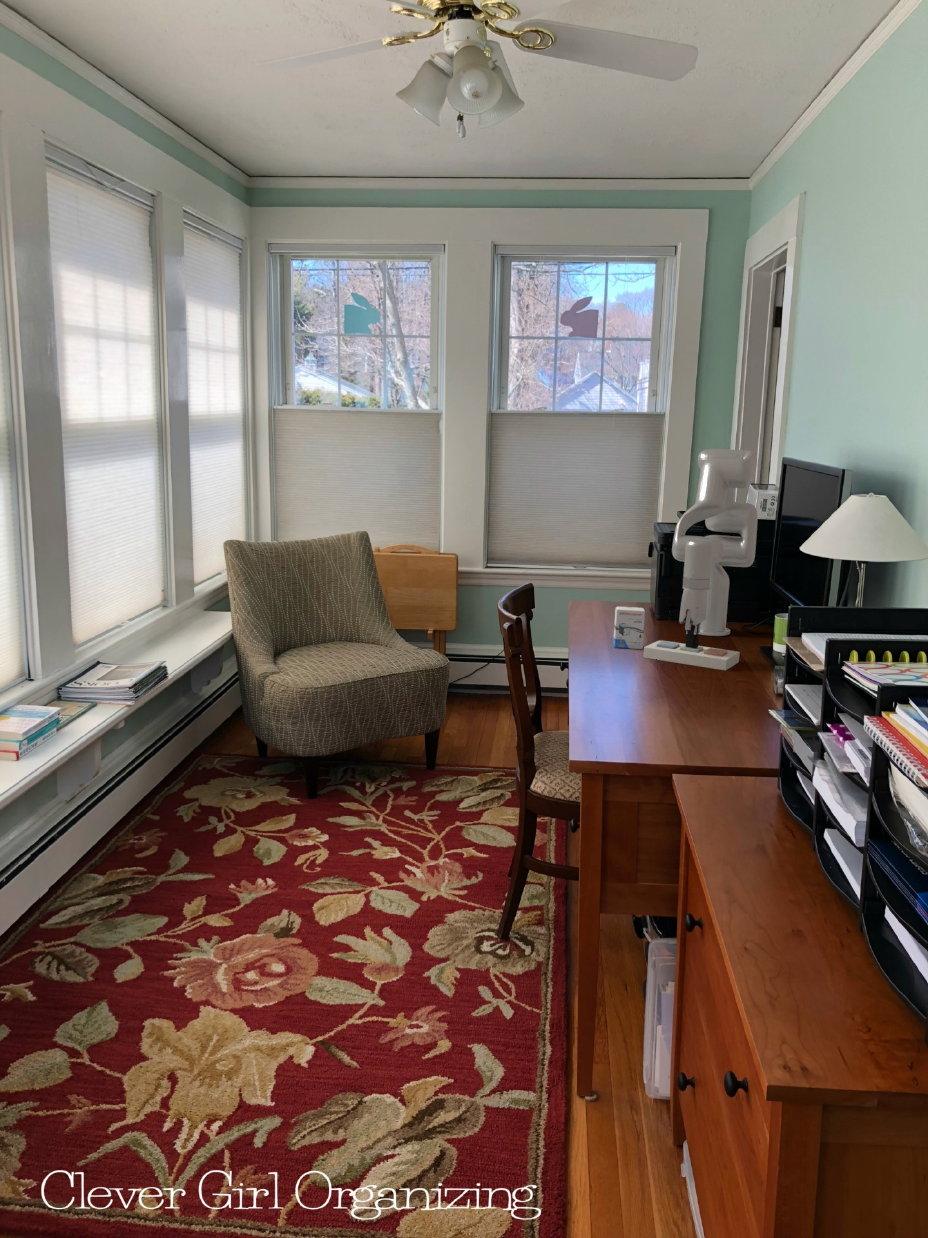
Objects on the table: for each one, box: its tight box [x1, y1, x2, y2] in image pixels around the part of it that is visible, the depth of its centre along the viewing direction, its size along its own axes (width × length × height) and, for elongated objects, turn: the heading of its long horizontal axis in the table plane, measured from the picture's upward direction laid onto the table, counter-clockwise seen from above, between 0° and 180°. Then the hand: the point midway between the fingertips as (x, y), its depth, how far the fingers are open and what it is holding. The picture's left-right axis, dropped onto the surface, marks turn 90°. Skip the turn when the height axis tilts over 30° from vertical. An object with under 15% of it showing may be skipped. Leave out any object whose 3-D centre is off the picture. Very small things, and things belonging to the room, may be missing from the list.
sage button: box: [680, 645, 704, 653], centre depth 276 cm, size 5×5×3 cm
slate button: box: [657, 640, 680, 649], centre depth 280 cm, size 5×5×3 cm
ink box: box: [612, 606, 646, 650], centre depth 290 cm, size 9×5×12 cm, turn 84°
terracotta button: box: [704, 647, 727, 657], centre depth 273 cm, size 5×5×3 cm
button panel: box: [642, 639, 741, 671], centre depth 276 cm, size 12×24×3 cm, turn 58°
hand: (691, 647), depth 276 cm, fingers closed
